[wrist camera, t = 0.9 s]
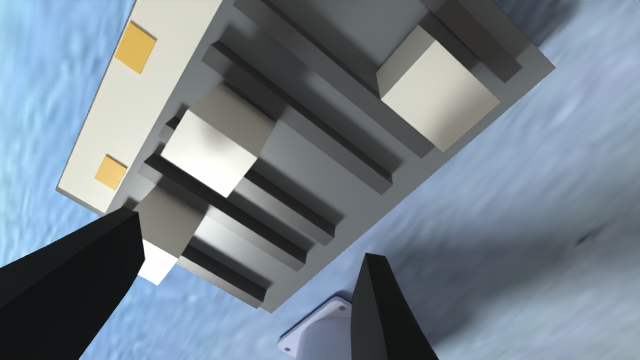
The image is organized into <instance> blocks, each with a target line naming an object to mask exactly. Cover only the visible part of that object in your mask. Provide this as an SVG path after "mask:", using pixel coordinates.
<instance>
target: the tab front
mask: <svg viewBox="0 0 640 360" xmlns="http://www.w3.org/2000/svg"><path fill="white" fill-rule="evenodd" d="M376 77H377V82H378V87H379V93H380V98H381V100H382V101H383V102H384V103H385V104H386V105H388V106H389V107H390V108H391V109H392V110H394V111H395V112H396V113H397V114H398V115H399V116H401V117H402V118H403V119H404V120H405V121H407V122H408V123H409V124H410V125H411V126H413V127H414V128H415V129H416V130H417V131H419V132H420V133H421V134H422V135H423V136H424V137H426V138H427V139H428V140H429V141H430V142H432V143H433V144H434V145H435V146H436V147H438V148H439V149H440V150H441V151H442V152H445V151H446V150H447V149H448V148H449V147H450V146H451V145H452V144H454V143H455V142H456V141H457V140H458V139H459V138H460V137H462V136H463V135H464V134H465V133H466V132H467V131H468V130H469V129H471V128H472V127H473V126H474V125H475V124H476V123H477V122H479V121H480V120H481V119H482V118H483V117H484V116H485V115H486V114H488V113H489V112H490V111H491V110H492V109H493V108H494V107H495V106H497V105H498V104H499V103H500V101H499V100H498V99H497V98H496V97H495V96H494V95H493V94H492V93H491V92H490V91H489V90H488V89H487V88H486V87H485V86H484V85H483V84H482V83H480V82H479V81H478V80H477V79H476V78H475V77H474V76H473V75H472V74H471V73H470V72H469V71H468V70H467V69H466V68H465V67H464V66H463V65H462V64H461V63H460V62H458V61H457V60H456V59H455V58H454V57H453V56H452V55H451V54H450V53H449V52H448V51H447V50H446V49H445V48H444V47H443V46H442V45H441V44H440V43H439V42H437V41H436V40H435V39H434V38H433V37H432V36H431V35H430V34H428V33H427V32H426V31H425V30H424V29H423V28H421V27H420V26H419V25H417V26H416V27H415V29H414V30H413V31H412V32H411V33H410V34H409V35H408V37H407V38H406V39H405V40H404V41H403V42H402V43H401V45H400V46H399V47H398V48H397V49H396V50H395V52H394V53H393V54H392V55H391V56H390V57H389V58H388V60H387V61H386V62H385V63H384V64H383V65H382V66H381V68H380V69H379V70H378V71H377V72H376Z"/></svg>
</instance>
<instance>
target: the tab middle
mask: <svg viewBox="0 0 640 360" xmlns="http://www.w3.org/2000/svg"><path fill="white" fill-rule="evenodd" d="M275 125H276V122H274V121H273V120H272V119H270V118H269V117H268V116H266V115H265V114H264V113H262V112H261V111H260V110H258V109H257V108H256V107H254V106H253V105H251V104H250V103H249V102H247V101H246V100H245V99H243V98H242V97H241V96H239V95H238V94H237V93H235V92H234V91H233V90H231V89H230V88H229V87H227V86H226V85H225V84H223V83H222V82H221V83H220V84H218V85H217V86H216V87H215V88H213V89H212V90H211V91H210V92H208V93H207V94H206V95H205V96H204V97H202V98H201V99H200V100H199V101H197V102H196V103H195V104H194V105H192V106H191V107H190V108H189V109H188V110H187V111H186V113H185V115H184V116H183V118H182V120H181V121H180V123H179V125H178V126H177V128H176V130H175V131H174V133H173V135H172V136H171V138H170V140H169V141H168V143H167V145H166V147H165V148H164V150H163V152H162V153H161V156H162V157H164V158H165V159H167V160H168V161H170V162H172V163H173V164H175V165H176V166H178V167H179V168H181V169H182V170H184V171H186V172H187V173H189V174H190V175H192V176H193V177H195V178H196V179H198V180H199V181H201V182H203V183H204V184H206V185H207V186H209V187H210V188H212V189H213V190H215V191H216V192H218V193H220V194H221V195H223V196H224V197H226V198H227V197H228V195H229V194H230V193H231V191H232V190H233V189H234V188H235V186H236V185H237V184H238V183H239V181H240V180H241V179H242V177H243V176H244V175H245V174H246V172H247V171H248V170H249V169H250V167H251V166H252V165H253V163H254V162H255V161H256V160H257V158H258V157H259V155H260V153H261V151H262V149H263V147H264V145H265V143H266V142H267V140H268V138H269V136H270V134H271V132H272V130H273V128H274V127H275Z"/></svg>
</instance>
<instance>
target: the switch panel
mask: <svg viewBox="0 0 640 360" xmlns="http://www.w3.org/2000/svg"><path fill="white" fill-rule="evenodd" d="M417 25H419V26H420V27H421V28H423V29H424V30H425V31H426V32H427V33H428V34H430V35H431V36H432V37H433V38H434V39H435V40H436V41H437V42H439V43H440V44H441V45H442V46H443V47H444V48H445V49H446V50H447V51H448V52H449V53H450V54H451V55H452V56H453V57H454V58H455V59H456V60H457V61H458V62H460V63H461V64H462V65H463V66H464V67H465V68H466V69H467V70H468V71H469V72H470V73H471V74H472V75H473V76H474V77H475V78H476V79H477V80H478V81H479V82H480V83H482V84H483V85H484V86H485V87H486V88H487V89H488V90H489V91H490V92H491V93H492V94H493V95H494V96H495V97H496V98H497V99H498V100H499V101H500V103H499V104H498V105H497V106H495V107H494V108H493V109H492V110H491V111H490V112H489V113H488V114H486V115H485V116H484V117H483V118H482V119H481V120H480V121H479V122H477V123H476V124H475V125H474V126H473V127H472V128H471V129H469V130H468V131H467V132H466V133H465V134H464V135H463V136H462V137H460V138H459V139H458V140H457V141H456V142H455V143H454V144H452V145H451V146H450V147H449V148H448V149H447V150H446V151H445V152H442V151H441V150H440V149H439V148H438V147H436V146H435V145H434V144H433V143H432V142H430V141H429V140H428V139H427V138H426V137H424V136H423V135H422V134H421V133H420V132H419V131H417V130H416V129H415V128H414V127H413V126H411V125H410V124H409V123H408V122H407V121H405V120H404V119H403V118H402V117H401V116H399V115H398V114H397V113H396V112H395V111H394V110H392V109H391V108H390V107H389V106H388V105H386V104H385V103H384V102H383V101H382V100H381V98H380V93H379V87H378V82H377V77H376V72H377V71H378V70H379V69H380V68H381V66H382V65H383V64H384V63H385V62H386V61H387V60H388V58H389V57H390V56H391V55H392V54H393V53H394V52H395V50H396V49H397V48H398V47H399V46H400V45H401V43H402V42H403V41H404V40H405V39H406V38H407V37H408V35H409V34H410V33H411V32H412V31H413V30H414V29H415V27H416V26H417ZM555 68H556V67H555V66H554V65H553V64H552V63H551V62H550V61H549V60H548V59H547V58H546V57H545V56H544V55H543V53H542V52H541V51H540V50H539V49H538V48H537V47H536V46H535V45H534V44H533V43H532V42H531V41H530V40H529V39H528V38H527V37H526V36H525V34H524V33H523V32H522V31H521V30H520V29H519V28H518V27H517V26H516V25H515V24H514V23H513V22H512V21H511V20H510V19H509V18H508V16H507V15H506V14H505V13H504V12H503V11H502V10H501V9H500V8H499V7H498V6H497V5H496V4H495V3H494V2H493V1H492V0H135V2H134V5H133V7H132V9H131V12H130V14H129V16H128V19H127V21H126V23H125V26H124V28H123V31H122V33H121V35H120V38H119V40H118V42H117V45H116V47H115V49H114V52H113V54H112V57H111V59H110V61H109V64H108V66H107V68H106V71H105V73H104V76H103V78H102V80H101V83H100V85H99V87H98V90H97V92H96V94H95V97H94V99H93V102H92V104H91V106H90V109H89V111H88V113H87V116H86V118H85V120H84V123H83V125H82V128H81V130H80V132H79V135H78V137H77V139H76V142H75V144H74V147H73V149H72V151H71V154H70V156H69V158H68V161H67V163H66V165H65V168H64V170H63V173H62V175H61V177H60V180H59V182H58V184H57V187H56V189H55V190H56V191H57V192H59V193H61V194H63V195H64V196H66V197H68V198H70V199H71V200H73V201H75V202H77V203H78V204H80V205H82V206H84V207H85V208H87V209H89V210H91V211H92V212H94V213H96V214H98V215H100V216H101V217H103V216H105V215H107V214H109V213H111V212H113V211H115V210H117V209H119V208H120V209H126V210H131V211H132V210H133V209H134V208H135V207H136V206H137V205H138V204H139V203H140V202H141V201H142V200H143V199H144V198H145V197H146V196H147V195H148V193H149V192H150V191H151V190H152V189H153V188H154V187H155V186H156V185H158V186H159V187H161V188H162V189H164V190H166V191H167V192H169V193H170V194H172V195H174V196H175V197H177V198H179V199H180V200H182V201H183V202H185V203H187V204H188V205H190V206H191V207H193V208H195V209H196V210H198V211H200V212H201V213H203V214H204V215H205V217H204V219H203V220H202V222H201V223H200V225H199V227H198V228H197V230H196V231H195V233H194V235H193V236H192V238H191V239H190V241H189V243H188V244H187V246H186V248H185V249H184V251H183V252H182V254H181V256H180V257H179V259H178V260H177V261H176V264H178V265H180V266H182V267H183V268H185V269H187V270H189V271H190V272H192V273H194V274H196V275H198V276H199V277H201V278H203V279H205V280H206V281H208V282H210V283H212V284H213V285H215V286H217V287H219V288H221V289H222V290H224V291H226V292H228V293H229V294H231V295H233V296H235V297H236V298H238V299H240V300H242V301H244V302H245V303H247V304H249V305H251V306H252V307H254V308H256V309H257V308H258V307H261V308H263V309H265V310H266V311H268V312H270V313H272V312H274V311H275V310H276V309H277V308H278V307H279V306H281V305H282V304H283V303H284V302H285V301H286V300H287V299H289V298H290V297H291V296H292V295H293V294H294V293H296V292H297V291H298V290H299V289H300V288H301V287H303V286H304V285H305V284H306V283H307V282H308V281H309V280H311V279H312V278H313V277H314V276H315V275H316V274H318V273H319V272H320V271H321V270H322V269H323V268H325V267H326V266H327V265H328V264H329V263H330V262H331V261H333V260H334V259H335V258H336V257H337V256H338V255H340V254H341V253H342V252H343V251H344V250H345V249H347V248H348V247H349V246H350V245H351V244H352V243H354V242H355V241H356V240H357V239H358V238H359V237H360V236H362V235H363V234H364V233H365V232H366V231H367V230H369V229H370V228H371V227H372V226H373V225H374V224H376V223H377V222H378V221H379V220H380V219H381V218H382V217H384V216H385V215H386V214H387V213H388V212H389V211H391V210H392V209H393V208H394V207H395V206H396V205H398V204H399V203H400V202H401V201H402V200H403V199H404V198H406V197H407V196H408V195H409V194H410V193H411V192H413V191H414V190H415V189H416V188H417V187H418V186H420V185H421V184H422V183H423V182H424V181H425V180H427V179H428V178H429V177H430V176H431V175H432V174H433V173H435V172H436V171H437V170H438V169H439V168H440V167H442V166H443V165H444V164H445V163H446V162H447V161H449V160H450V159H451V158H452V157H453V156H454V155H455V154H457V153H458V152H459V151H460V150H461V149H462V148H464V147H465V146H466V145H467V144H468V143H469V142H471V141H472V140H473V139H474V138H475V137H476V136H477V135H479V134H480V133H481V132H482V131H483V130H484V129H486V128H487V127H488V126H489V125H490V124H491V123H493V122H494V121H495V120H496V119H497V118H498V117H500V116H501V115H502V114H503V113H504V112H505V111H506V110H508V109H509V108H510V107H511V106H512V105H513V104H515V103H516V102H517V101H518V100H519V99H520V98H522V97H523V96H524V95H525V94H526V93H527V92H528V91H530V90H531V89H532V88H533V87H534V86H535V85H537V84H538V83H539V82H540V81H541V80H542V79H544V78H545V77H546V76H547V75H548V74H549V73H550V72H552V71H553V70H554V69H555ZM221 82H222V83H223V84H225V85H226V86H227V87H229V88H230V89H231V90H233V91H234V92H235V93H237V94H238V95H239V96H241V97H242V98H243V99H245V100H246V101H247V102H249V103H250V104H251V105H253V106H254V107H256V108H257V109H258V110H260V111H261V112H262V113H264V114H265V115H266V116H268V117H269V118H270V119H272V120H273V121H274V122H276V125H275V127H274V128H273V130H272V132H271V134H270V136H269V138H268V140H267V142H266V143H265V145H264V147H263V149H262V151H261V153H260V155H259V157H258V158H257V160H256V161H255V162H254V163H253V165H252V166H251V167H250V169H249V170H248V171H247V172H246V174H245V175H244V176H243V177H242V179H241V180H240V181H239V183H238V184H237V185H236V186H235V188H234V189H233V190H232V191H231V193H230V194H229V195H228V197H227V198H226V197H224V196H223V195H221V194H220V193H218V192H216V191H215V190H213V189H212V188H210V187H209V186H207V185H206V184H204V183H203V182H201V181H199V180H198V179H196V178H195V177H193V176H192V175H190V174H189V173H187V172H186V171H184V170H182V169H181V168H179V167H178V166H176V165H175V164H173V163H172V162H170V161H168V160H167V159H165V158H164V157H162V156H161V153H162V152H163V150H164V148H165V147H166V145H167V143H168V141H169V140H170V138H171V136H172V135H173V133H174V131H175V130H176V128H177V126H178V125H179V123H180V121H181V120H182V118H183V116H184V115H185V113H186V111H187V110H188V109H189V108H190V107H191V106H192V105H194V104H195V103H196V102H197V101H199V100H200V99H201V98H202V97H204V96H205V95H206V94H207V93H208V92H210V91H211V90H212V89H213V88H215V87H216V86H217V85H218V84H220V83H221Z"/></svg>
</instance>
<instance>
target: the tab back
mask: <svg viewBox="0 0 640 360" xmlns="http://www.w3.org/2000/svg"><path fill="white" fill-rule="evenodd" d="M132 211H137V212H139V219H140V225H141V232H142V239H143V245H144V252H145V259H146V260H145V262H144V264H143V265H142V267H141V269H140V271H139V273H138V275H140V276H142V277H143V278H145V279H147V280H149V281H151V282H153V283H154V284H156V285H158V284H159V283H160V282H161V280H162V279H163V278H164V277H165V275H166V274H167V273H168V272H169V270H170V269H171V268H172V266H173V265H174V264H175V263H176V261H177V260H178V259H179V257H180V256H181V254H182V252H183V251H184V249H185V248H186V246H187V244H188V243H189V241H190V239H191V238H192V236H193V235H194V233H195V231H196V230H197V228H198V227H199V225H200V223H201V222H202V220H203V219H204V217H205V215H204V214H203V213H201V212H200V211H198V210H196V209H195V208H193V207H191V206H190V205H188V204H187V203H185V202H183V201H182V200H180V199H179V198H177V197H175V196H174V195H172V194H170V193H169V192H167V191H166V190H164V189H162V188H161V187H159V186H158V185H156V186H155V187H154V188H153V189H152V190H151V191H150V192H149V193H148V195H147V196H146V197H145V198H144V199H143V200H142V201H141V202H140V203H139V204H138V205H137V206H136V207H135V208H134V209H133V210H132Z"/></svg>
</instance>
